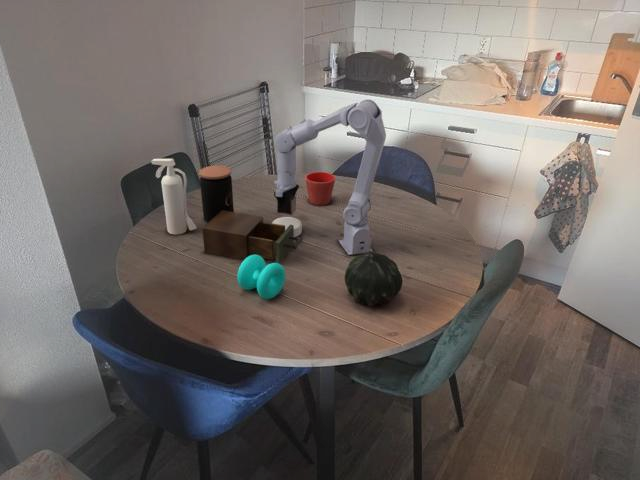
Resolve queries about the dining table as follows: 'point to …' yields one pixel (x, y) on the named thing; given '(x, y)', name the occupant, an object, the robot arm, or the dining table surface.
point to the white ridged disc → (290, 221)
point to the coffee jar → (216, 191)
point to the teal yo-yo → (261, 276)
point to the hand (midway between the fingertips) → (286, 209)
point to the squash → (373, 278)
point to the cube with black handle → (291, 206)
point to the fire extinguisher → (174, 197)
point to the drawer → (272, 241)
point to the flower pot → (320, 187)
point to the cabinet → (229, 234)
